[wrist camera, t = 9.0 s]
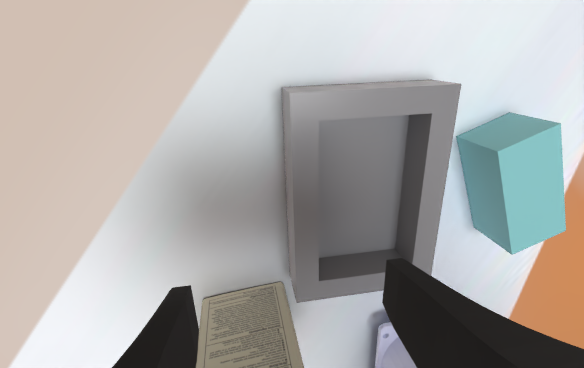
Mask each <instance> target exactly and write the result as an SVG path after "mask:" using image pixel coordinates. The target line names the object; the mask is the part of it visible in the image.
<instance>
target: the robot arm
mask: <svg viewBox="0 0 584 368" xmlns="http://www.w3.org/2000/svg"><path fill="white" fill-rule="evenodd" d="M383 305H384V307H385V310H386V312H387V315H388V317H389V319H390V321H391V322H388V323H383V324H381V325H380V326H379V328H378V339H377V350H376V361H375V368H584V349H581V348H579V347H576V346H573V345H570V344H567V343H565V342H562V341H559V340H557V339H554V338H552V337H549V336H546V335H544V334H542V333H539V332H537V331H534V330H532V329H529V328H527V327H525V326H522V325H520V324H518V323H516V322H513V321H511V320H509V319H507V318H505V317H503V316H501V315H499V314H497V313H495V312H493V311H491V310H489V309H487V308H485V307H483V306H481V305H479V304H478V303H476V302H474V301H472V300H470V299H468V298H467V297H465V296H463V295H461V294H460V293H458V292H456V291H455V290H453V289H451V288H450V287H448V286H446V285H445V284H443V283H441V282H440V281H438V280H437V279H435V278H433V277H432V276H430V275H429V274H427V273H426V272H424V271H422V270H421V269H419V268H418V267H416V266H415V265H413V264H411V263H410V262H408V261H406V260H405V259H403V258H397V259H389V260H386V271H385V281H384V292H383ZM198 338H199V328H198V322H197V317H196V312H195V306H194V301H193V296H192V290H191V285H190V286H183V287H175V288H172V289H171V290H170V291H169V293H168V294H167V296H166V297H165V299H164V300H163V302H162V303H161V305H160V306H159V308H158V309H157V310H156V312H155V313H154V315H153V316H152V318H151V319H150V320H149V322H148V323H147V324H146V326H145V327H144V328H143V330H142V331H141V333H140V334H139V335H138V337H137V338H136V339H135V340H134V342H133V343H132V344H131V345H130V347H129V348H128V349H127V350H126V352H125V353H124V354H123V355H122V356H121V358H120V359H119V360H118V361H117V363H116V364H115V365H114V366H113V367H112V368H196V363H197V354H198Z"/></svg>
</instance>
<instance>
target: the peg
mask: <svg viewBox="0 0 584 368" xmlns="http://www.w3.org/2000/svg"><path fill="white" fill-rule="evenodd" d="M456 137H457V142H458V147H459V152H460V158H461V163H462V168H463V173H464V178H465V184H466V189H467V194H468V199H469V205H470V210H471V215H472V220H473V225H474V228H476V229H477V230H478V231H480V232H481V233H483V234H484V235H485V236H487V237H488V238H490V239H491V240H492V241H494V242H495V243H496V244H498V245H499V246H501V247H502V248H503V249H505V250H506V251H507V252H509V253H510V254H515V253H517V252H519V251H521V250H524V249H526V248H528V247H530V246H533V245H535V244H537V243H539V242H541V241H544V240H546V239H548V238H550V237H553V236H555V235H557V234H559V233H561V232H564V231H565V230H566V226H565V205H564V183H563V162H562V140H561V123H556V122H552V121H547V120H542V119H538V118H533V117H528V116H524V115H519V114H514V113H507V114H505V115H503V116H501V117H499V118H496V119H494V120H492V121H490V122H487V123H485V124H483V125H481V126H478V127H476V128H474V129H472V130H470V131H467V132H465V133H463V134H461V135H458V136H456Z"/></svg>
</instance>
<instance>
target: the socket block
mask: <svg viewBox="0 0 584 368" xmlns="http://www.w3.org/2000/svg"><path fill="white" fill-rule="evenodd" d="M460 89H461V84H458V83H451V82H443V81H436V80H417V81H397V82H377V83H357V84H338V85H318V86H298V87H282V106H283V129H284V152H285V176H286V199H287V222H288V246H289V269H290V278H291V282H292V286H293V290H294V294H295V298H296V302H297V303H298V302H305V301H312V300H319V299H326V298H333V297H340V296H347V295H354V294H361V293H368V292H375V291H382V290H384V281H385V271H386V260H389V259H397V258H403V259H405V260H406V261H408V262H410V263H411V264H413V265H415V266H416V267H418V268H419V269H421V270H422V271H424V272H426V273H427V274H429V275H430V276H431V271H432V265H433V259H434V252H435V246H436V240H437V233H438V227H439V221H440V215H441V208H442V202H443V196H444V189H445V183H446V177H447V170H448V164H449V158H450V152H451V145H452V139H453V133H454V126H455V120H456V114H457V108H458V101H459V95H460Z"/></svg>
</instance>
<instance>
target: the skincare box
mask: <svg viewBox="0 0 584 368" xmlns="http://www.w3.org/2000/svg"><path fill="white" fill-rule="evenodd" d="M196 368H304V366H303V362H302V357H301V353H300V349H299V345H298V341H297V337H296V333H295V329H294V325H293V321H292V317H291V312H290V308H289V304H288V300H287V296H286V292H285V288H284V284H283V283H282V282H277V283H273V284H267V285H263V286H258V287H253V288H249V289H245V290H240V291H235V292H230V293H226V294H222V295H218V296H214V297H210V298H206V299H204V300H203V301H202V310H201V319H200V328H199V338H198V354H197V363H196Z"/></svg>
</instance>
